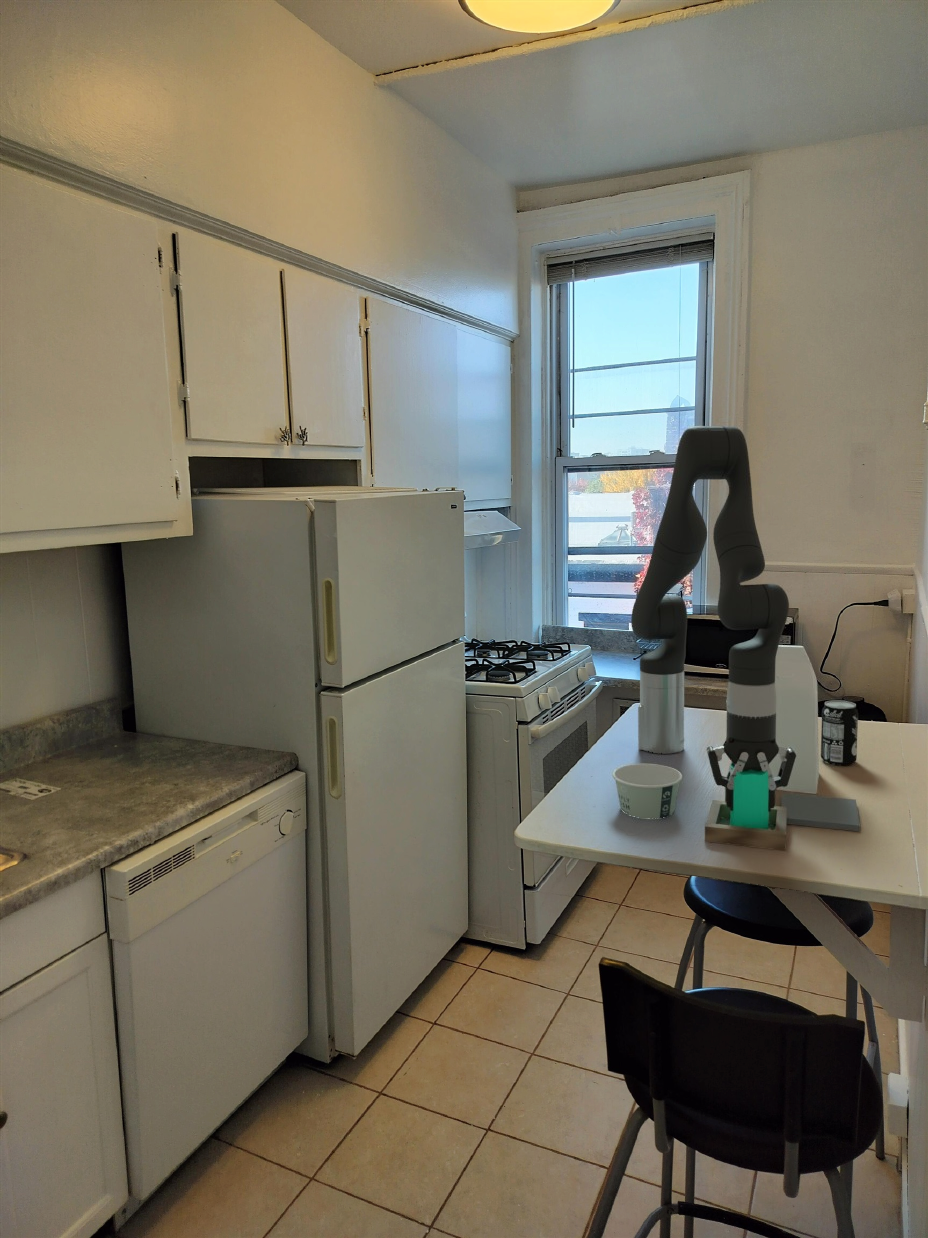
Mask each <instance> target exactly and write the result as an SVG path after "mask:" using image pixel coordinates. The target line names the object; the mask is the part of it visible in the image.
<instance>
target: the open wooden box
mask: <svg viewBox="0 0 928 1238" xmlns="http://www.w3.org/2000/svg"><path fill="white" fill-rule="evenodd" d="M707 814H708V815H707V819H706V822H705V825H704V842H708V843H716V844H717V843H718V844H725V845H733V846H743V847H750V848H751V847H752V848H758V849H759V848H760V849H769V850H777V851H784V852H785V851H786V841H787V840H786V839H787V825H788V824H787V807H781V806H778V805H777V806H776V805H775V806H774V808H771V812H769V824H775V830H774V829H769V830H768V829H758V828H749V827H740V826H731V825H730V824H720V821H721V819H727V820H728V819H729V820H730V808H729V807H727V805H726V802H725V800H716V799H713V800H712V801H711V804H710V807H709V810H708V813H707Z"/></svg>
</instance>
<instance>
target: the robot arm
mask: <svg viewBox="0 0 928 1238" xmlns="http://www.w3.org/2000/svg"><path fill="white" fill-rule="evenodd" d="M750 468H751V467H750V458H749V451H748V445H747V441H746V437H745V435H744V433H743V431H742V430H741V429H740V428H738V427H735V426H730V425H729V426H728V425H726V426H725V425H723V426H722V425H720V426H719V425H713V426H712V425H711V426H710V425H709V426H708V425H695V426H689V427H688V428H686V429H685V430H684V431H683V433H682V435H681V437H680V440H679V443H678V447H677V451H676V455H675V460H674V465H673V471H672V476H671V481H670V486H669V487H670V488H669V491H668V496H667V498H666V499H667V500H666V502H665V507H664V510H663V513H662V514H663V515H662V517H661V520H660V523H659V525H658V526H659V527H658V528H657V533H656V536H655V540H654V543H653V547H652V552H651V556H650V559H649V563H648V567H647V571H646V574H645V576H644V578H643V581H642V583H641V586H640V589H639V591H638V593H637V595H636V598H635V601H634V603H633V606H632V612H631V620H630V622H631V623H630V624H631V629H632V632H633V634H634V635H635V636H636V637H637V638H638V639H640V640H646V641H650V640H651V641H653V640H654V641H655V640H663V642H662V643H661V645H659V646H658V647H657V648H656V649H654V650H652V651H649V652H648V653H645V654H644V655H642V656H641V657H640V659H639V695H640V696H639V705H638V707H637V713H638V714H637V720H638V721H637V722H638V723H637V731H638V732H637V735H638V736H637V737H638V742H637V743H638V745H637V747H638V748H637V750H640V751H645V752H648V751H649V752H648V753H652V752H653V754H659V755H660V754H661V753H662V754H665V755H666V754H676V753H680V752H682V751H684V749H685V662H686V661H685V660H686V654H687V653H686V652H687V647H686V646H687V630H688V611H687V610H688V609H687V605H686V603H685V600H684V599H683V598H682V596H680V595H677V594H676V595H675V594H671V595H670V594H669V595H668V592H670V591H671V590H672V588H674V587H675V586H676V585H678V584H679V583H680V582H681V581H683V580H684V579H685V578H686V577H687V576H688V575H689V574H691V572H692V571H693V570H694V569H695V568H696V567H697V565H698V564H699V562H700V560H701V556H702V553H703V551H704V548H705V545H706V542H707V539H708V530H707V525H706V521H705V519H704V517H703V516H702V513H701V512H700V511H701V510H700V509H699V507H698V505H697V503H696V500H695V498H694V495H693V494H694V493H693V491H694V486H695V483H697V481H699V480H715V481H716V480H717V481H718V480H725V481H726V482H727V486H728V495H727V498H726V500H725V501H724V504H723V506H722V508H721V510H720V512H719V514H718V516H717V517H716V520H715V524H714V526H713V544H714V545H713V546H714V550H715V553H716V558H717V563H718V566H719V567H718V568H719V591H718V592H719V593H718V598H717V600H718V601H717V615H718V619H719V620H720V622H721V623H722V625H723V626H724V627H725V628H727V629H728V630H733V631H745V630H758V631H757V632H756V635H755V636H754V637H753V638H751V639H750V640H747V641H744V642H740V643H737V644H734V645H733V646H731V647H730V649H729V653H728V684H727V691H726V700H725V705H726V736H725V737H726V739H725V740H724V741H725V742H724V743H723V745H721V746H717V747H713V746H708V747H706V754H707V758H708V762H709V765H710V768H711V773H712V776H713V780H714V782H715V784H716V785H717V786H722V787H724V801H725V802H726V805H727V807H729V808H730V810H731V811H733V794H734V790H733V789H734V777H736V776H737V772H740V773H741V772H742V771H748V770H754V771H762V772H763V773H764V772H766V771H767V772H768V777H769V787H768V788H769V792H768V812H771V808H774V806H776V791H777V790H776V789H777V788H778V787H781V786H782V787H786V786H787V785H788V782H789V779H790V775H791V772H792V768H793V765H794V762H795V758H796V754H795V752H794V751H793V749H792V748H790V747H788V748H782V747H778V745H777V743H776V688H775V660H776V653H777V649H778V645H780V642H781V637H782V634H783V631H784V629H785V626H786V622H787V619H788V615H789V611H790V604H789V603H790V601H789V597H788V594H787V593H786V591H785V590H784V589H783V587H782V586H780V585H778V584H775V583H760V584H742V583H745V582H748V581H751V580H754V579H756V578H757V577H759V576H760V575H762V573H763V572H764V570H765V568H766V562H765V561H766V560H765V557H764V556H765V555H764V553H763V549H762V545H761V541H760V537H759V534H758V530H757V525H756V522H755V515H754V503H753V491H752V490H753V489H752V478H751V469H750ZM724 754H726V756H727V757H728V759H729V760H730V761H731V762H730V765H729V767H728V772H727V774H726V776H724V775H722V772H721V768H720V764H719V762H720V761H722V759H723V755H724ZM777 754H779V758H780V760H781V761H782V762H781V766H780V769H779V773H778V776H777V777H774V778H773V776H772V773H771V770H770V768H769V764H770V762H771V761H772V760H773V759H774V757H775V756H776V755H777ZM732 765H734V769H733V770H732V769H731V766H732Z"/></svg>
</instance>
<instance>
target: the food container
mask: <svg viewBox="0 0 928 1238" xmlns="http://www.w3.org/2000/svg"><path fill="white" fill-rule="evenodd" d="M611 775H612V778H613V779H614V780H615V785H616V790H617V794H618V801H619V807H620V810H621V809H622V810H623V811H624V812H625V813H627V814H628V815H631V816H635V817H639V818H650V819H649V820H658V819H657V818H662V819H664V818H663V817H666V818H668V817H667V816H669V817H671V816H672V815H673V814H674V813H675V808H676V802H677V798H678V792H679V785H680V782H681V781H682V779H683V775H682V773H681V772H680V771H679V770H678V769H676V768H673V767H670V766H667V765H662V764H657V763H632V764H625V765H622V766H619V767H617V768H615V769H614V770H613V771H612V774H611ZM673 812H674V813H673ZM672 813H673V814H672ZM628 815H627V816H628ZM670 815H671V816H670ZM631 816H630V817H631ZM639 818H638V819H639ZM652 818H653V819H652ZM655 818H656V819H655Z"/></svg>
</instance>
